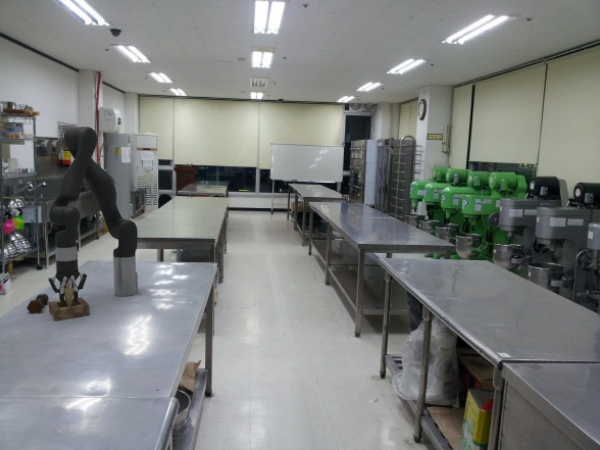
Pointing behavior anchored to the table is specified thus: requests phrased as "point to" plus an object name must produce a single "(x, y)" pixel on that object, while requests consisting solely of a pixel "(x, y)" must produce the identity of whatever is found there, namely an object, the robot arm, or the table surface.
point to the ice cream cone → (68, 291)
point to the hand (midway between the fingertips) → (69, 301)
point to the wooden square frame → (68, 309)
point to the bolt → (37, 303)
